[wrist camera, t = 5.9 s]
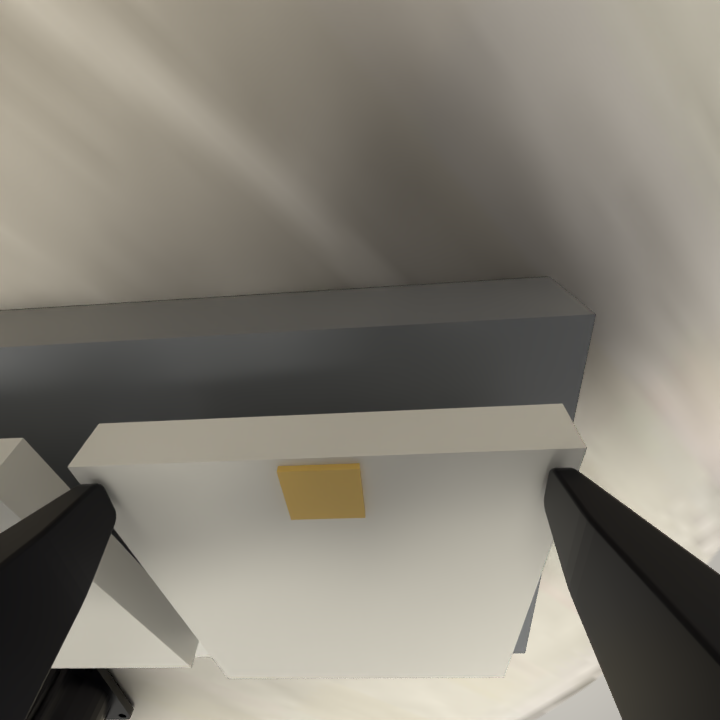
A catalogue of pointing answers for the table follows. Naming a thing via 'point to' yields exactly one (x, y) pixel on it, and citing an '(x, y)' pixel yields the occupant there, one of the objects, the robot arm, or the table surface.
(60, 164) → the table surface
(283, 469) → the rocker right
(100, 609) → the rocker left
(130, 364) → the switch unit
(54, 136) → the table surface
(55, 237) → the table surface
